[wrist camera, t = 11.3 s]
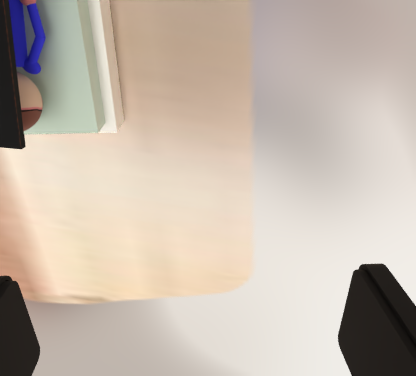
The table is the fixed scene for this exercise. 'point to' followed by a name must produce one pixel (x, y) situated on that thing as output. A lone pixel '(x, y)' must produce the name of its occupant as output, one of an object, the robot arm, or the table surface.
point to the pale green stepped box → (76, 68)
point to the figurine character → (14, 81)
